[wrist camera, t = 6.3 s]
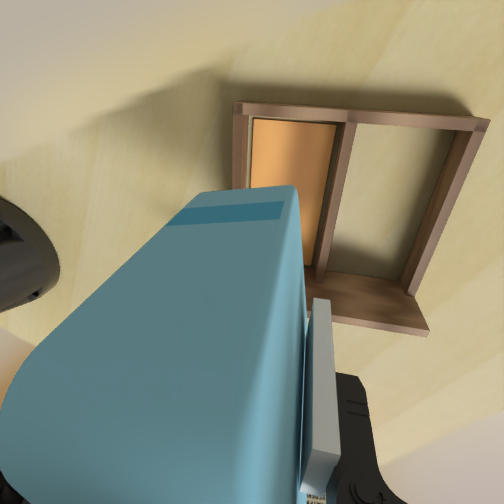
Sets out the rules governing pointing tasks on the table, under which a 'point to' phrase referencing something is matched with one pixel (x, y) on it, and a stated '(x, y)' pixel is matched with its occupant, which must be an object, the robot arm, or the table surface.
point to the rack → (312, 191)
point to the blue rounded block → (174, 369)
